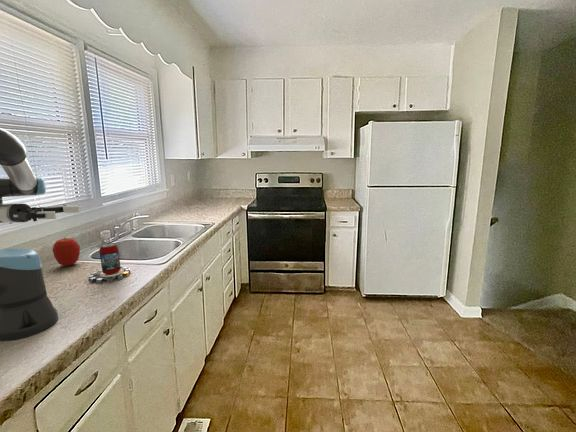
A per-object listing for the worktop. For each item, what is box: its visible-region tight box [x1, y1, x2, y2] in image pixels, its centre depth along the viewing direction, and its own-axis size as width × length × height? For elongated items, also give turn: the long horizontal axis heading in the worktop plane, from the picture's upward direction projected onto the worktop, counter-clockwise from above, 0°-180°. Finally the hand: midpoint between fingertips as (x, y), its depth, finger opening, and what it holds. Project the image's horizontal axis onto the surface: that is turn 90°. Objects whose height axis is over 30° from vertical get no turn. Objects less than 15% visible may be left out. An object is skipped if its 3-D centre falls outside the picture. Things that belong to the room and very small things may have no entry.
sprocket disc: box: [88, 265, 131, 284], centre depth 133 cm, size 15×15×2 cm
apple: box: [52, 236, 81, 267], centre depth 147 cm, size 10×10×14 cm
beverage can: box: [98, 242, 121, 275], centre depth 132 cm, size 7×7×12 cm
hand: (67, 211), depth 127 cm, fingers open, 13 cm apart
